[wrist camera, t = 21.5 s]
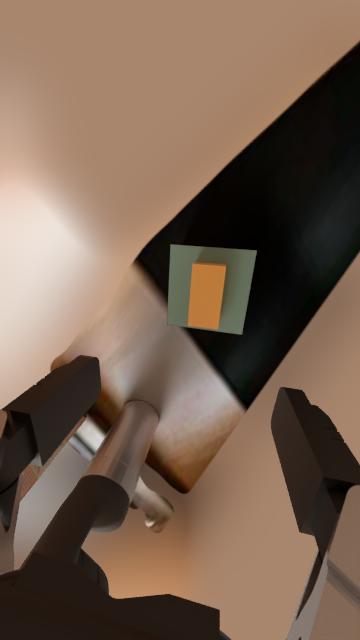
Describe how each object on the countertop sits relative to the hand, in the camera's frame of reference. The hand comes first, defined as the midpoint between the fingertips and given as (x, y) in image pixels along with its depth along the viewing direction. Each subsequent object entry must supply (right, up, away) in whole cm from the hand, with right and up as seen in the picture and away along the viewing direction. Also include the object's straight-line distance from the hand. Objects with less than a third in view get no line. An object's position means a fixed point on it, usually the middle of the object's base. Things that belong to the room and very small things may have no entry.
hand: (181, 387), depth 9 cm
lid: (+4, +7, +20) cm, 22 cm away
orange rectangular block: (+4, +7, +20) cm, 21 cm away
